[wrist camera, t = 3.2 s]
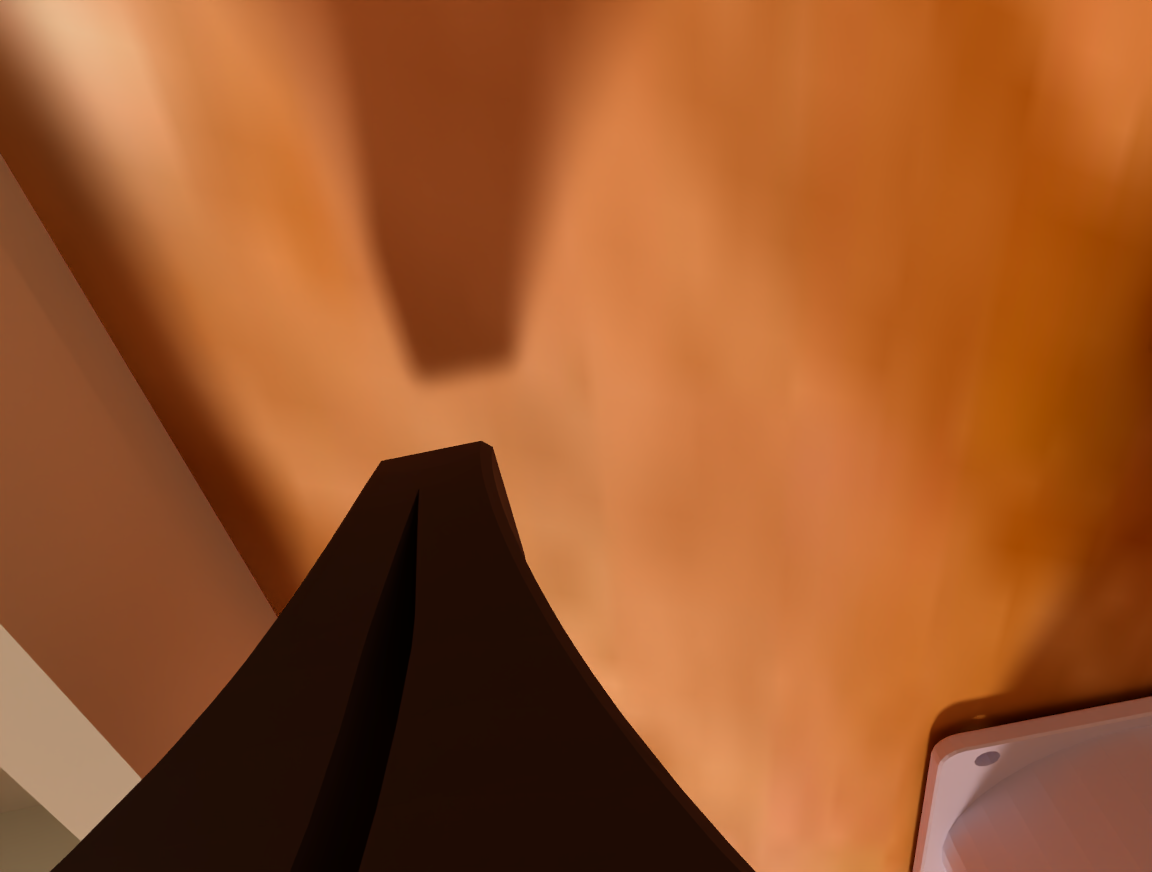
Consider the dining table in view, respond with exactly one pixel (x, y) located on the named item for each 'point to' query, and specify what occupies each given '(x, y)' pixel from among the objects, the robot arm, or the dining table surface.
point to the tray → (94, 564)
